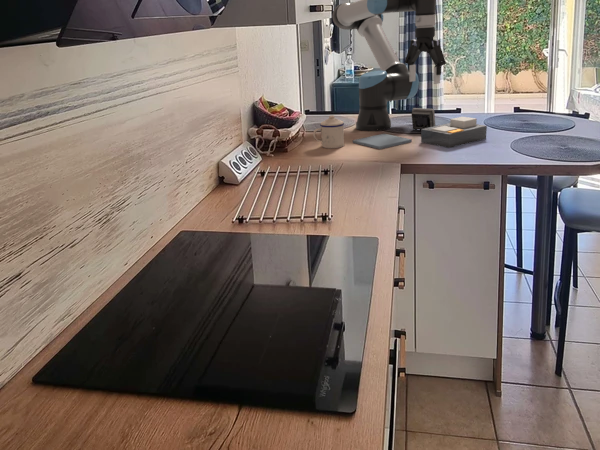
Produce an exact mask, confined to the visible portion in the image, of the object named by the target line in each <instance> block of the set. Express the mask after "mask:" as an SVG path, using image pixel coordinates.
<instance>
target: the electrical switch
mask: <svg viewBox="0 0 600 450" xmlns="http://www.w3.org/2000/svg"><path fill="white" fill-rule="evenodd" d="M411 122H412V130H413V129H425V128H429V127H434V126H437V125H436V117H435V108H420V107H412V109H411Z"/></svg>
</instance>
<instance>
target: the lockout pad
mask: <svg viewBox="0 0 600 450" xmlns="http://www.w3.org/2000/svg"><path fill="white" fill-rule="evenodd" d="M412 142H413V141H412V139H411V138H407V137H402V136H399V135H398V136H397V135H392V134H387V133H381V134H375V135H371V136H367V137H361V138H357V139H353V140H352V143H353V144H358V145H360V146H361V145H362V146H364V147H369V148H374V149H378V150H382V149H387V148H392V147H396V146H399V145H400V146H401V145H404V144H409V143H412Z"/></svg>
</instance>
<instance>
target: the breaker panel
mask: <svg viewBox="0 0 600 450" xmlns="http://www.w3.org/2000/svg"><path fill="white" fill-rule="evenodd" d="M442 126H448V127H453V126H450V122H447V123H444V124H439V125H436V126H434V127H429V128H425V129H421V137H420V139H421V140H420V142H421V143H423V144H427V145H432V146H437V147H442V148H446V149H450V148H455V147H459V146H463V145H466V144H471V143H475V142H479V141H483V140H487V130H488V125H485V124H478V123H476V126H472V127H468V128H459V127H454V128H458V129H457V130H452V131H448V132H446V133H444V132H439V131H433V130H431V129H432V128H437V127H442Z"/></svg>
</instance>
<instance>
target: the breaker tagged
mask: <svg viewBox="0 0 600 450" xmlns="http://www.w3.org/2000/svg"><path fill="white" fill-rule="evenodd" d="M457 129H458V128H454V127H448V126H442V127H437V128H432V129H431V130H433V131H439V132H444V133H446V132H448V131H452V130H457Z"/></svg>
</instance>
